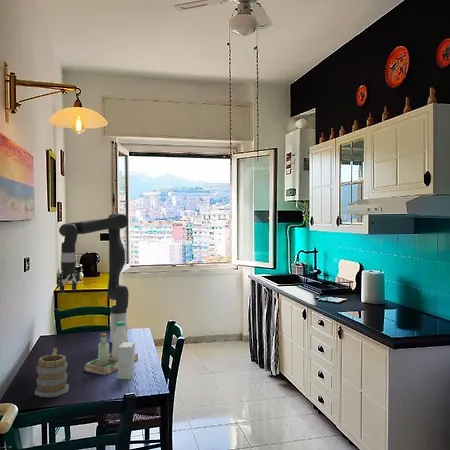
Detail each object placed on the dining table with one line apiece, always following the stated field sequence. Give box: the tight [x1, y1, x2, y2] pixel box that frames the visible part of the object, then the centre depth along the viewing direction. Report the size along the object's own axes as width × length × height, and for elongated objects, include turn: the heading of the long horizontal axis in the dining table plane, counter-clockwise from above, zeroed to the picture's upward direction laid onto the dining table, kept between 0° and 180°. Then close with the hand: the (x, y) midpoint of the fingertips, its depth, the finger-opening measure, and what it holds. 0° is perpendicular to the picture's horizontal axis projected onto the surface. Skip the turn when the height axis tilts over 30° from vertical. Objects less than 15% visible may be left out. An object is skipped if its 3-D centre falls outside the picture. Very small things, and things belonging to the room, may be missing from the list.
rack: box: [84, 353, 139, 376], centre depth 221 cm, size 25×12×3 cm, turn 156°
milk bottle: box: [111, 321, 129, 359], centre depth 227 cm, size 8×8×20 cm
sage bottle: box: [97, 332, 110, 367], centre depth 216 cm, size 5×5×17 cm
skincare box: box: [117, 341, 136, 380], centre depth 205 cm, size 8×6×15 cm
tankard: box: [34, 347, 70, 398], centre depth 190 cm, size 20×13×15 cm, turn 12°
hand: (68, 291), depth 240 cm, fingers open, 8 cm apart
